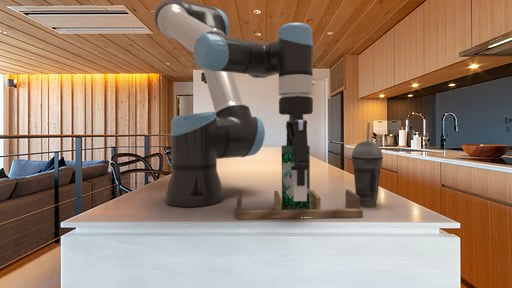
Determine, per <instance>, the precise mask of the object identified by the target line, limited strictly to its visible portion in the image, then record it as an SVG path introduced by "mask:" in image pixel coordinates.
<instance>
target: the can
mask: <svg viewBox="0 0 512 288" xmlns="http://www.w3.org/2000/svg"><path fill="white" fill-rule="evenodd" d="M310 152H311V146H310V145H308V159H309V168H307V201H294V200H293V170H291V167H292V166H294V156H293V145H286V144H285V145H281V210H300V209H311V207H310V190H311V169H310V167H311V163H310V162H311V159H310V158H311V155H310V154H311V153H310Z"/></svg>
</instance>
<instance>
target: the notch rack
mask: <svg viewBox="0 0 512 288" xmlns="http://www.w3.org/2000/svg"><path fill="white" fill-rule="evenodd" d="M273 196H274V197H273V199H274V203H273V205H274V207H273V208H274V209H256V210H255V209H254V210H253V209H252V210H250V209H248V210H243V193H242V191H241V190H240V191H238V192H237V196H236V220H237V219H249V220H269V219H268V218H301V217H303V218H304V217H316V218H315V219H326V218H325V217H364V216H363V215H364V210H363V209H362V208H361V206H360V197H359V196H358V195H356V192H353V191H352V190H350V189H345V207H346V208H322V207H321V206H322V205H321V197H320V195H319V194H318V193H317V191H315V190H314V189H310V209H300V210H282V197H281V196H280V193H279V190H273ZM317 217H318V218H317ZM319 217H320V218H319ZM323 217H324V218H323Z"/></svg>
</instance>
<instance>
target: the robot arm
mask: <svg viewBox="0 0 512 288" xmlns="http://www.w3.org/2000/svg"><path fill="white" fill-rule="evenodd" d="M153 22H154V25H155V27H156V29H157V30H158V31H159V33H161V34H162V35H163V36H165V37H166V38H168V39H172V40H173V39H174V40H175V41H177V42H178V43H179V44H182V45H183V46H184V47H185V48H186V49H188V50H189V51H190V52H192V53H193V59H194V60H195V64H196V66H197V67H198V68H200V69H202V71H203V74H204V77H205V82H206V85H207V88H208V91H209V95H210V98H211V102H212V105H213V109H214V111H206V112H197V113H195V112H194V113H187V114H180V115H175V116H174V117H173V118H172V119H171V122H170V146H171V147H170V149H171V151H170V152H171V175H170V177H169V178H170V179H169V182H168V187H167V190H166V192H165V203H166V204H168V205H169V206H173V207H181V208H183V207H184V208H190V207H191V208H192V207H193V208H194V207H205V206H211V205H215V204H218V203H221V202H222V201H224V199H225V195H224V194H225V193H224V188H223V185H222V182H221V179H220V176H219V173H218V170H217V169H218V167H217V166H218V165H217V164H218V163H217V160H218V159H232V158H246V157H249V156H254V155H256V154H258V153H259V152H260V150H261V148H262V146H263V144H264V141H265V136H266V131H265V130H266V129H265V125H264V123H263V121H262V120H261V119H260V118H259V117H257V116H252V113H251V110H250V107H249V106H248V105H247V104H244V103H243V101H242V99H241V95H240V93H239V89H238V85H237V82H236V80H235V77H234V74H233V73H236V74H242V75H243V74H244V75H248V76H250V77H251V78H253V79H261V78H262V79H266V78H269V77H271V76H276V75H278V79H277V81H278V96H280V98H278V99H279V100H278V114H280V115H281V116H283V115H284V116H286V115H287V116H288V120H287V121H286V125H285V129H286V143H285V145H293V156H294V166H292V167H291V170H293V200H294V201H307V168H309V159H308V146H309V145H308V121H307V119H304V115H312V114H313V112H314V109H313V107H314V98H313V97H311V95H312V94H313V89H314V88H313V87H314V86H315V85H316V82H315V81H314V80H313V79H314V78H313V76H314V75H313V69H314V68H313V66H314V65H313V64H314V63H313V59H314V58H313V57H314V38H313V30H312V27H311V26H310V25H309V24H307V23H303V22H289V23H285V24H283V25H281V26H280V27H279V28H278V33H277V34H278V35H277V40H274V41H272V42H269V43H262V42H261V43H260V42H258V41H257V42H256V41H251V40H245V39H240V38H235V37H230V36H229V34H230V33H229V31H230V29H229V27H230V26H229V25H230V24H229V20H228V17H227V15H226V13H225V12H224V11H222V10H221V9H219V8H216V7H214V6H209V5H208V6H207V5H204V4H199V3H195V2H193V1H188V0H163V1H162V2H160V3H158V6H157V7H156V8H155V11H154V14H153Z"/></svg>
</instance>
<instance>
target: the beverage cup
mask: <svg viewBox="0 0 512 288" xmlns="http://www.w3.org/2000/svg"><path fill="white" fill-rule="evenodd" d="M370 125H371V124H370V122H367V128H366V141H364V140H363V141H361V142H359V143H358V144H356V145H355V146H354V148H353V150H352V154H351V161H352V167H353V175H354V176H353V177H354V187H355V188H354V189H355V194H356V195H358V196H359V197H360V207H366V208H367V207H368V208H372V207H376V206H377V201H378V197H379V196H378V195H379V185H380V178H381V175H380V174H381V167H382V166H383V165H382V164H383V159H384V157H383V151H382V149H381V147H380V146H379V145H378V144H377V143H376V142H374V141H370Z"/></svg>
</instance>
